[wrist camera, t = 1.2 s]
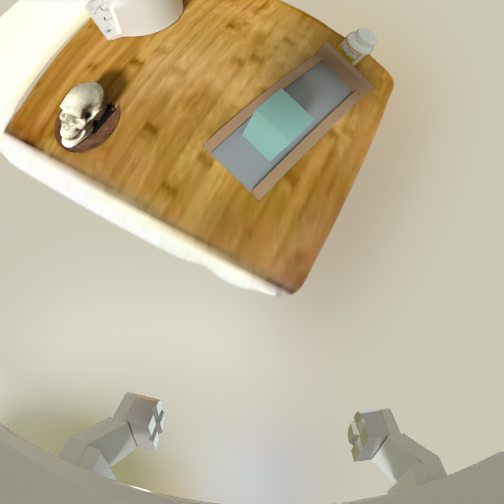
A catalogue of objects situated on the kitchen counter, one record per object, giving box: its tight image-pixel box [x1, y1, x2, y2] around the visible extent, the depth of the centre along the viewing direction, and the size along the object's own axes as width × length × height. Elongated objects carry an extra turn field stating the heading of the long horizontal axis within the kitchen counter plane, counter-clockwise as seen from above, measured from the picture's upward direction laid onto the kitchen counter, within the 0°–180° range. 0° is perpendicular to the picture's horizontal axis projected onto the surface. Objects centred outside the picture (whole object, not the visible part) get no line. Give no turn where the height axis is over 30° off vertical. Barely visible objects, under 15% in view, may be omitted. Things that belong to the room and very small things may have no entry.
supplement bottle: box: [336, 28, 377, 67], centre depth 40 cm, size 5×5×10 cm
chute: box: [203, 42, 375, 200], centre depth 41 cm, size 12×30×4 cm, turn 136°
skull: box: [54, 82, 120, 152], centre depth 35 cm, size 12×10×10 cm
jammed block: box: [242, 88, 314, 161], centre depth 37 cm, size 6×5×10 cm
